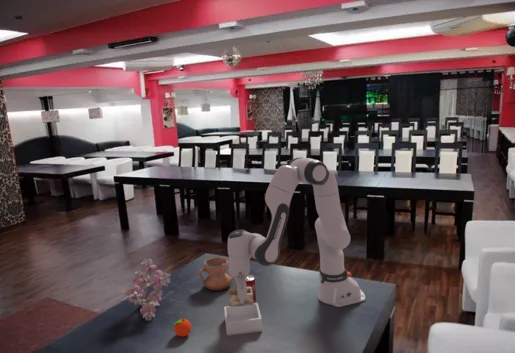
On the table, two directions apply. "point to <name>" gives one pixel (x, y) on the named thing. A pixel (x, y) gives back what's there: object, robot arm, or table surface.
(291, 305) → the table surface
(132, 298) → the flower
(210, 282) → the ceramic jug
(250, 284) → the soda can
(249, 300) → the birch crate
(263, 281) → the table surface
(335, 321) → the table surface
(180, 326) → the clementine
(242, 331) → the grey crate
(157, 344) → the table surface
